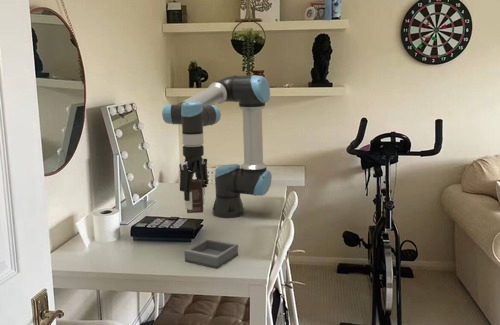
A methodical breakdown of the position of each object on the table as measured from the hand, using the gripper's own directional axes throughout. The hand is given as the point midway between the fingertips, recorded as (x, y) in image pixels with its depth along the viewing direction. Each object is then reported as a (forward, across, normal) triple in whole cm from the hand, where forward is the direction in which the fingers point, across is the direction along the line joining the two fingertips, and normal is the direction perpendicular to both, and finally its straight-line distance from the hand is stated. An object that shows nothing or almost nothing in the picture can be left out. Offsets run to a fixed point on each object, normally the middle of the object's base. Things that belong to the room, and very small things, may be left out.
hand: (195, 206), depth 184 cm
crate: (+18, +1, +8) cm, 20 cm away
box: (+2, 0, 0) cm, 2 cm away
